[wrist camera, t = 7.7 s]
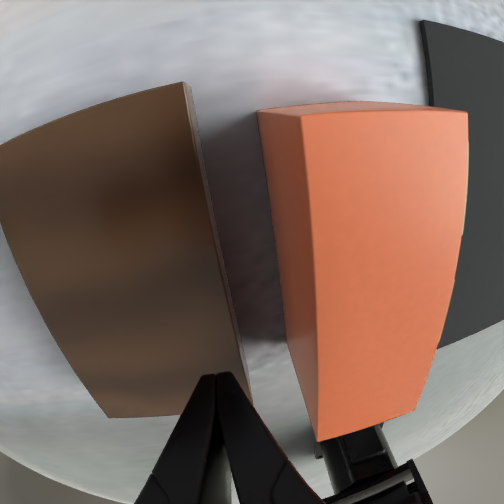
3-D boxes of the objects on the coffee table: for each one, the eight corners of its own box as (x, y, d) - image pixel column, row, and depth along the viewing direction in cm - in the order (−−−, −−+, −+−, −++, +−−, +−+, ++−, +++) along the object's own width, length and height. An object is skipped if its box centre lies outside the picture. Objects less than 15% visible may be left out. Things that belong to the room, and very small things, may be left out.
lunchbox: (287, 344, 18) (364, 325, 19) (317, 442, 12) (414, 410, 12) (256, 110, 13) (363, 101, 13) (299, 115, 6) (468, 111, 6)
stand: (247, 368, 19) (253, 405, 16) (116, 383, 19) (108, 418, 16) (190, 86, 12) (184, 80, 9) (15, 143, 11) (-20, 155, 9)
